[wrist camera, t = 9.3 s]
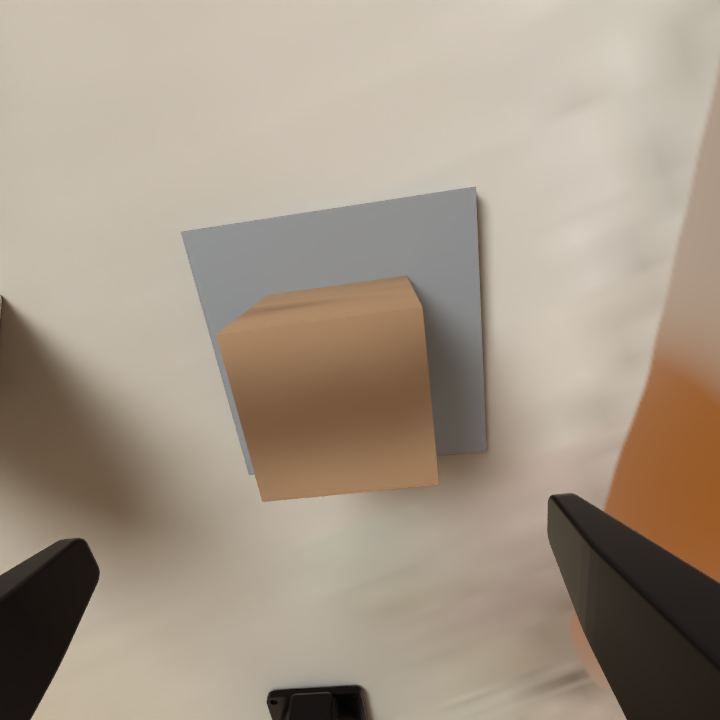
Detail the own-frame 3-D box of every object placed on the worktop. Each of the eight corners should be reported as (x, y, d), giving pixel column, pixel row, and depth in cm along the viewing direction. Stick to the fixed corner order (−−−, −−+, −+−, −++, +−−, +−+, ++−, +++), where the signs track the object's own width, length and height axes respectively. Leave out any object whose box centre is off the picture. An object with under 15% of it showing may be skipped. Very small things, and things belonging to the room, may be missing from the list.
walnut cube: (419, 403, 19) (439, 484, 13) (295, 417, 19) (262, 502, 14) (406, 275, 17) (422, 306, 11) (267, 294, 17) (216, 334, 12)
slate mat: (482, 442, 20) (486, 451, 20) (253, 465, 21) (249, 475, 21) (471, 187, 16) (475, 186, 16) (189, 231, 17) (180, 232, 17)
